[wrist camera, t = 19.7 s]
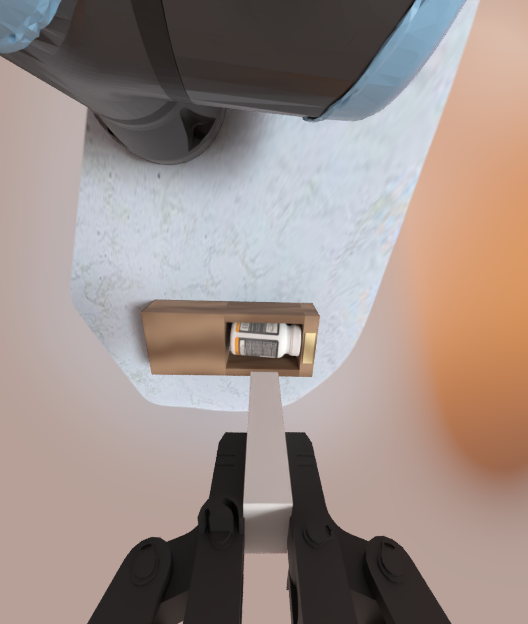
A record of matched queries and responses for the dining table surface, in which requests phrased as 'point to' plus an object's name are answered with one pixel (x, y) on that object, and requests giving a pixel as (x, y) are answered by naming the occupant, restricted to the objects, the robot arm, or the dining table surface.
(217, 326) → the brown wooden open box
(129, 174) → the dining table surface
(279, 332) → the pill bottle
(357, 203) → the dining table surface
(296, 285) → the dining table surface
